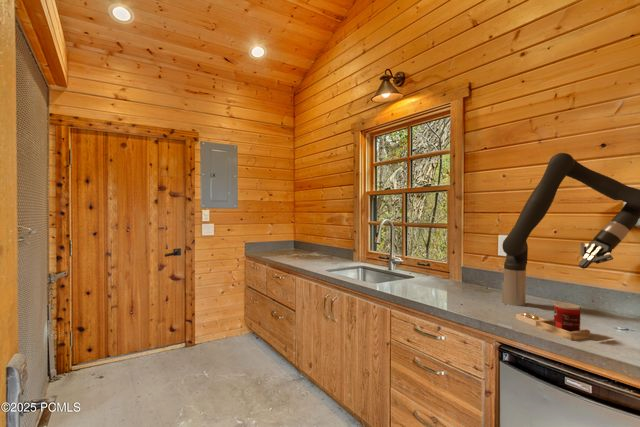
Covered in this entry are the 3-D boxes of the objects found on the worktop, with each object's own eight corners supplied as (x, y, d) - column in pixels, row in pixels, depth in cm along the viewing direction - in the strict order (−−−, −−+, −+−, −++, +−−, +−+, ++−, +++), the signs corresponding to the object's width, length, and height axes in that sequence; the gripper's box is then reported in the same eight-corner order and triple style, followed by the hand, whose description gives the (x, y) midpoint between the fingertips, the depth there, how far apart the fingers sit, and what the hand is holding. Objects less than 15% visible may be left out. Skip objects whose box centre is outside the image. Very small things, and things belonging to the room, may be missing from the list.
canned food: (562, 329, 128) (563, 301, 128) (585, 337, 121) (585, 306, 121) (548, 332, 126) (549, 303, 126) (570, 339, 118) (571, 309, 118)
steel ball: (520, 319, 139) (520, 311, 138) (526, 318, 139) (526, 311, 139) (527, 321, 136) (527, 314, 136) (532, 320, 137) (532, 313, 137)
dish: (516, 319, 139) (516, 314, 139) (526, 318, 141) (526, 313, 141) (535, 327, 131) (535, 321, 131) (546, 325, 132) (546, 319, 132)
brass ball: (528, 322, 135) (529, 314, 135) (534, 321, 136) (534, 313, 136) (535, 324, 132) (535, 316, 132) (541, 323, 133) (541, 316, 133)
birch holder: (536, 328, 129) (536, 321, 129) (553, 326, 132) (553, 318, 132) (571, 342, 116) (571, 333, 116) (589, 339, 119) (590, 330, 119)
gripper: (591, 224, 140) (562, 255, 142) (624, 236, 128) (592, 270, 130) (599, 233, 143) (571, 264, 145) (632, 246, 130) (601, 279, 133)
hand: (581, 267), depth 137 cm, fingers closed
